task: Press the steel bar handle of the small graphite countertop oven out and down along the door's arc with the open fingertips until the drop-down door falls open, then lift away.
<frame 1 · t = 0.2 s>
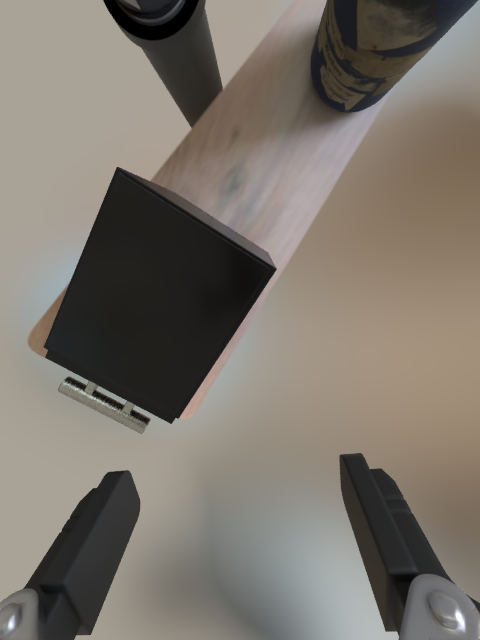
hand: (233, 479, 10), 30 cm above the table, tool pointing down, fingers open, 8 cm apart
oven door: (135, 366, 32), point 10 cm above the table, hinge at 0.0°
canister: (351, 67, 30), on the table
oven: (196, 275, 38), on the table
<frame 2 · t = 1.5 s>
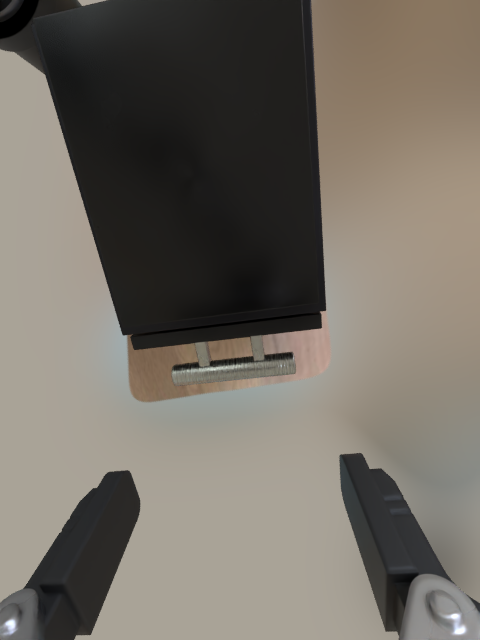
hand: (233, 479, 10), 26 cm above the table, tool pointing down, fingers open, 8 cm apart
oven door: (235, 324, 25), point 10 cm above the table, hinge at 0.0°
oven: (226, 208, 31), on the table
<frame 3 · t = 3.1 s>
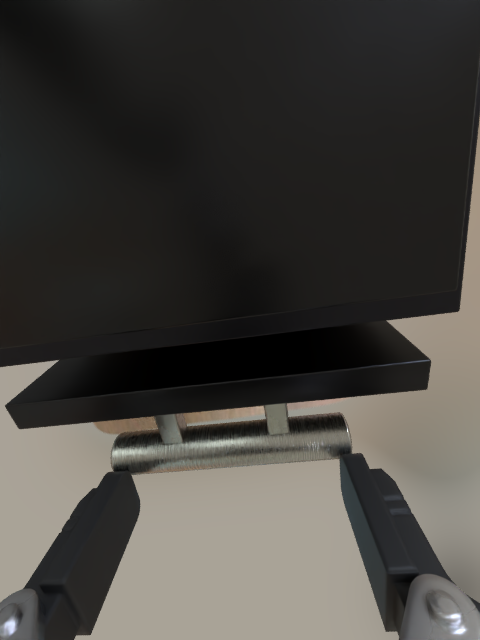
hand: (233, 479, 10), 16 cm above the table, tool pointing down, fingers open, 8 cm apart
oven door: (231, 342, 15), point 10 cm above the table, hinge at 4.9°, touching gripper
oven: (218, 158, 21), on the table
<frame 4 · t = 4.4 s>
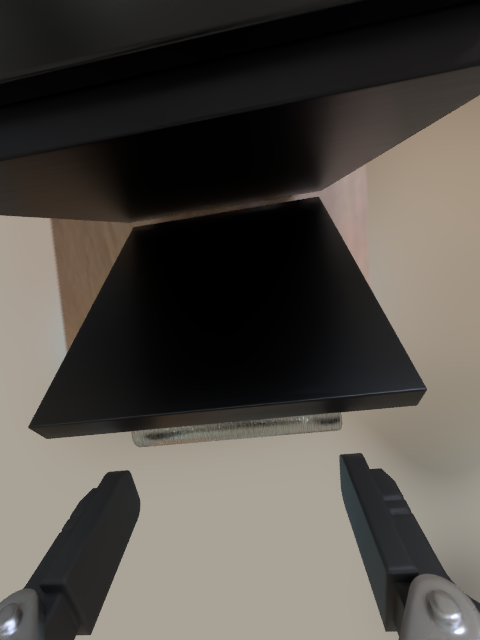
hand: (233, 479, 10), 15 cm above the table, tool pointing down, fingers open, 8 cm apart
oven door: (229, 310, 15), point 8 cm above the table, hinge at 27.6°
oven: (207, 87, 19), on the table
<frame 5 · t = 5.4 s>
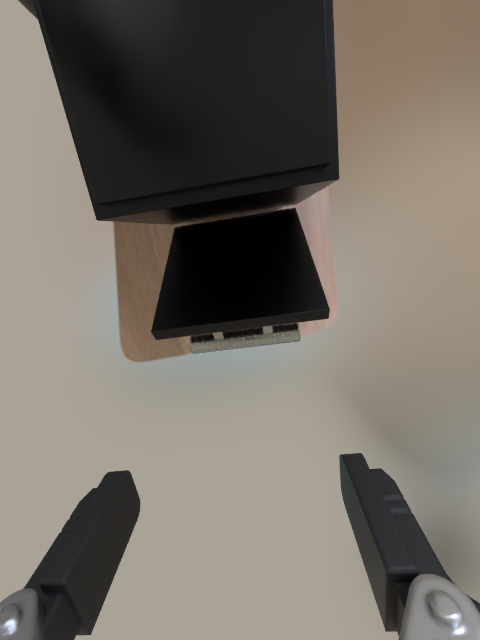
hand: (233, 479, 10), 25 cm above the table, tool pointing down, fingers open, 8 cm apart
oven door: (239, 280, 25), point 8 cm above the table, hinge at 31.2°
oven: (223, 135, 29), on the table
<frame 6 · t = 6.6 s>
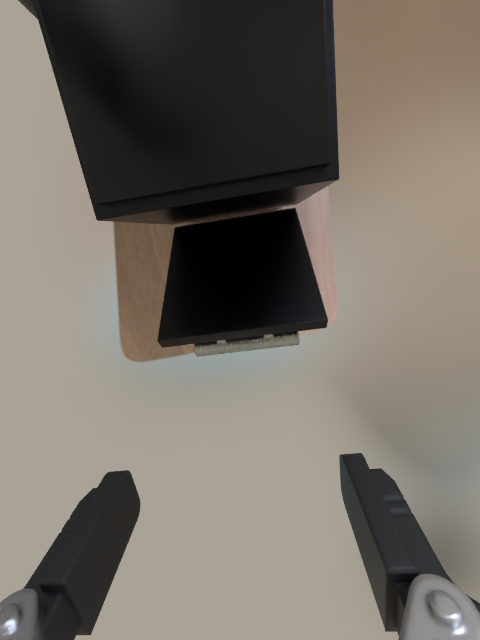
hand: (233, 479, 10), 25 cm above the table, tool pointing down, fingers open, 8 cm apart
oven door: (240, 283, 26), point 7 cm above the table, hinge at 36.1°
oven: (223, 135, 29), on the table
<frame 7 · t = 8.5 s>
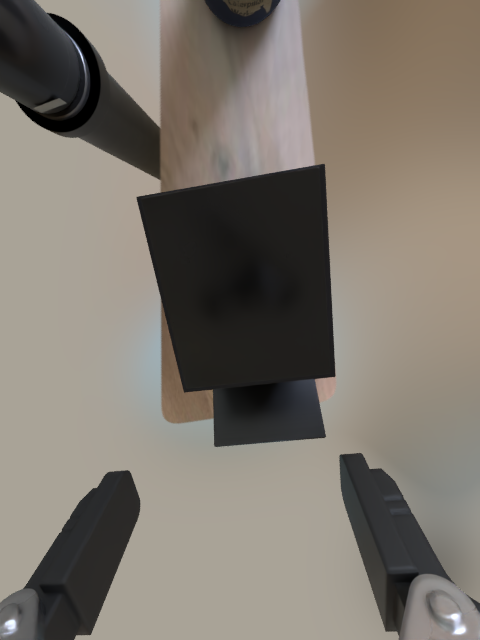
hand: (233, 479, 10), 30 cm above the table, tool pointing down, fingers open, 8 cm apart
oven door: (263, 384, 36), point 6 cm above the table, hinge at 45.3°
oven: (248, 266, 38), on the table
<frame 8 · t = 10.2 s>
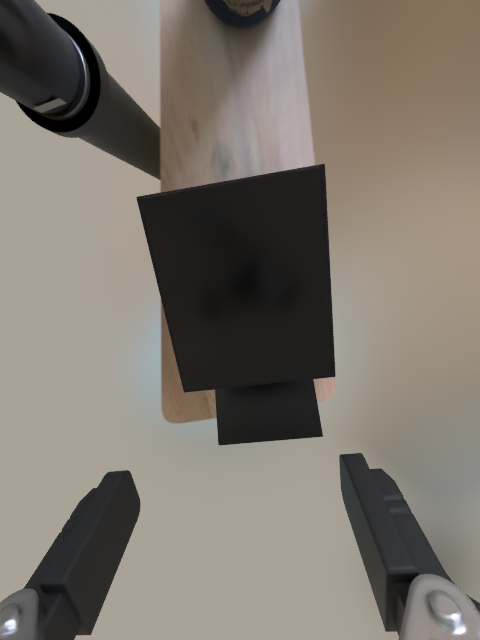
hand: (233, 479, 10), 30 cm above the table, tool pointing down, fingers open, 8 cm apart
oven door: (263, 383, 37), point 5 cm above the table, hinge at 54.9°
oven: (248, 266, 38), on the table
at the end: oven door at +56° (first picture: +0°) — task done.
